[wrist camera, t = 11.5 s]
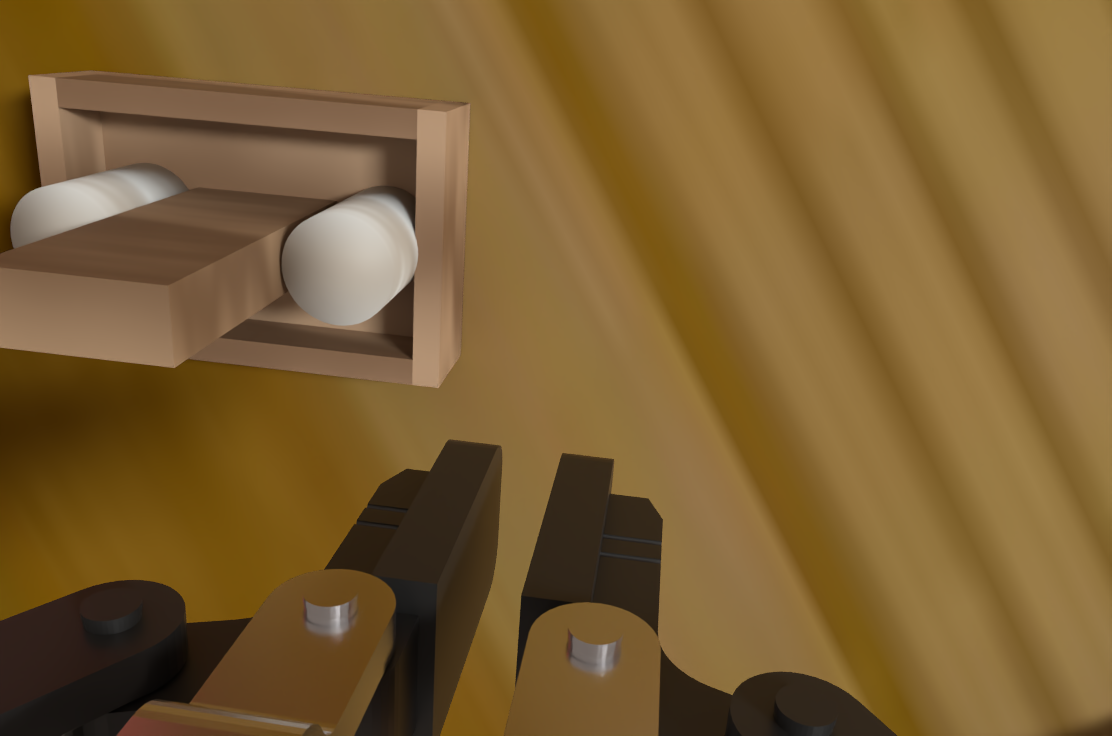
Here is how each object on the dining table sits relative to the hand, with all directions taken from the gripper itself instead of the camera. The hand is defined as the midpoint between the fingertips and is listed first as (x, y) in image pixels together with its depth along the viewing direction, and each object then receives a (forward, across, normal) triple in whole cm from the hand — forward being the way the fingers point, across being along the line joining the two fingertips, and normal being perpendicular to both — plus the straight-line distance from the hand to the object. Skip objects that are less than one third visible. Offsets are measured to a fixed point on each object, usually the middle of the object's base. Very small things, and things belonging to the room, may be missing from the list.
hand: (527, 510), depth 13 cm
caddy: (+17, +11, 0) cm, 20 cm away
